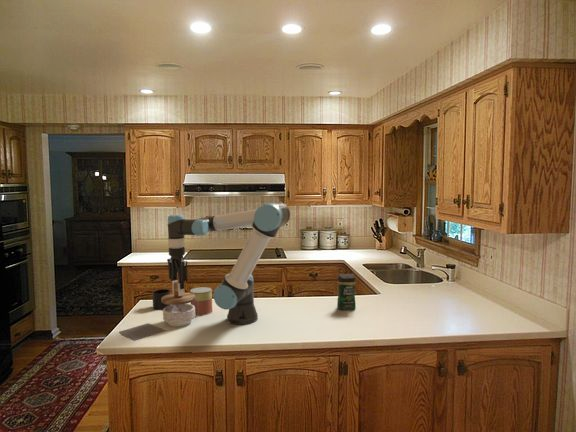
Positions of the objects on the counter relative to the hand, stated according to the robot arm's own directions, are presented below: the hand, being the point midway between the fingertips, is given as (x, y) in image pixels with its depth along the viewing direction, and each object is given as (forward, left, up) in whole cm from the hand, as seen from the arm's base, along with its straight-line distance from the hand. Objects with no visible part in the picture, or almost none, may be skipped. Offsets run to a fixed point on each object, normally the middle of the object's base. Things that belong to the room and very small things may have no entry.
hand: (178, 294), depth 202 cm
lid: (0, 0, -3) cm, 3 cm away
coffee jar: (-51, -70, -15) cm, 88 cm away
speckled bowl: (0, 0, -15) cm, 15 cm away
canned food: (+6, -18, -15) cm, 24 cm away
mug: (+29, -10, -15) cm, 34 cm away
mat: (+4, +18, -14) cm, 23 cm away
